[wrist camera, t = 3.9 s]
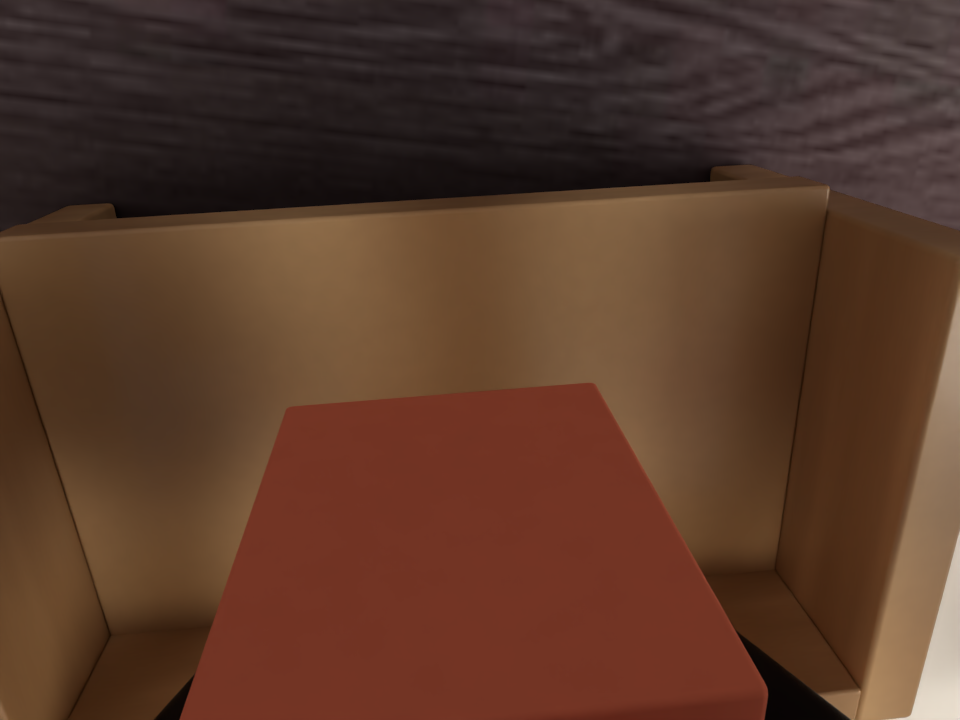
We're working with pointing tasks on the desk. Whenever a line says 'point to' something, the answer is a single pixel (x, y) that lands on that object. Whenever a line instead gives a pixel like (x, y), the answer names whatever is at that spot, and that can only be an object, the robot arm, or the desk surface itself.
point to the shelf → (482, 367)
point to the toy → (467, 574)
